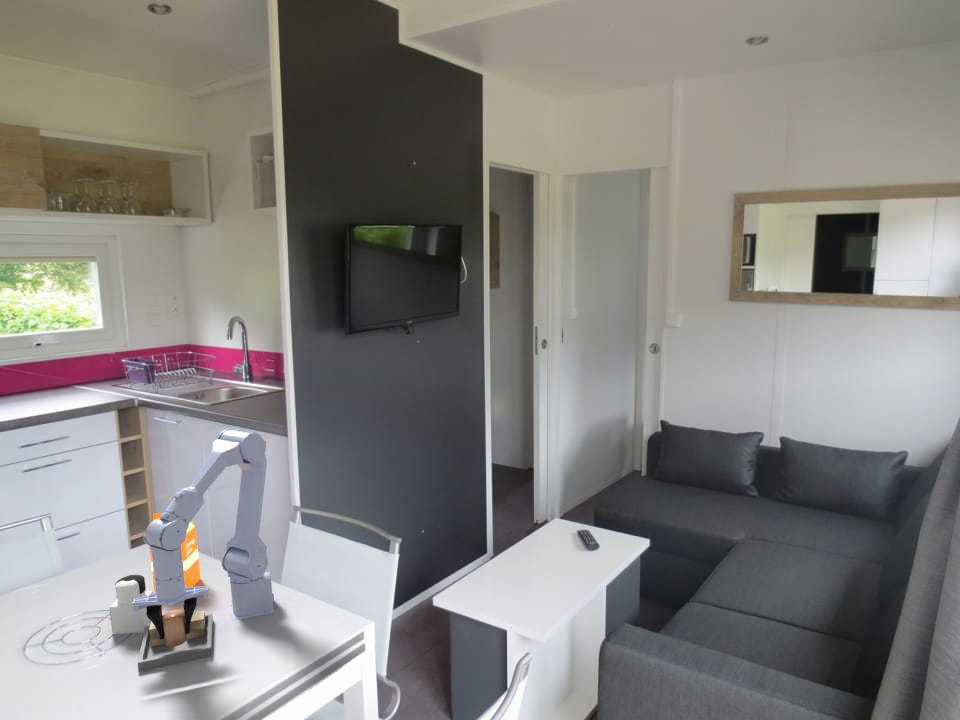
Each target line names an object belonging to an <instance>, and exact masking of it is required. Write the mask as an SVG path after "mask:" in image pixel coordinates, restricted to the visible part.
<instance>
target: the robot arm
mask: <svg viewBox="0 0 960 720" xmlns="http://www.w3.org/2000/svg"><path fill="white" fill-rule="evenodd" d="M266 448H267V441H266V439H264V438H263V437H262V435H260V434H259V433H257V432H248V431H240V430H234V429H232V428H227V429H223V430H221V432H220V433H219V434H218V436H217V437H216V439H214V441H213V442H212V446H211V452H210V454H209V456H208V457H207V458H206V459H205V462H204V463H203V465H202V466H201V468H200V470H199V471H198V473H197V474H196V476H195V477H194V478H193V480H192V482H191V483H190V485H189V486H187V487H183V488H181V489H179V491H177V492H176V493H174V495H173V497H174V498H173V499H172V500H171V502H169V504H168V506H167V507H166V508H165V510H164V511H163V512H161V513H162V514H161V516H160V518H159V519H156V520H155V521H153V520H152V521H153V522H152V521H151V522H150V523H149V524H148V525H147V526H146V529H145V532H144V533H145V534H143V536H142V538H143V541H144V543H145V544H146V545H147V546H148V548H149V547H150V548H149V553H150V552H151V553H152V562H153V571H154V580H155V589H156V593H155V592H154V593H153V594H150V595H147V596H144V597H141V598H136V599H134V601H133V610H134V612H135V611H139V610H140V609H143V608H147V613H146V614H147V617H148V618H149V619H150V620H151V621H152V623H153V624H154V626H155V627H156V629H157V631H158V633H159V636H160V639H164V632H163V622H162V616H163V608H162V606H164V607H172V606H175V605H176V604H177V603H180V602H183V611H184V614H185V621H186V634H190V623H191V619H192V616H193V613H194V612H195V611H196V608H197V602H198V601H197V600H198V599H203V600H204V599H209V594H210V593H209V585H205V586H194V587H185V579H184V569H183V559H182V549H181V544H182V543H183V542H184V541H185V539H186V535H187V529H188V528H189V527H188V526H189V523H190V522H191V521H192V520H193V519H194V518H195V516H196V514H198V512H199V511H200V510H201V508H202V506H203V505H204V503H205V500H204V494H205V493H206V492H207V491H208V490H209V489H210V487H211V486H212V485H213V484H214V482H215V481H216V480H217V479H218V478H219V477H220V475H221V474H222V473H223V471H224V470H225V469H227V468H228V467H232V466H236V465H237V466H238V467H239V468H240V470H241V476H240V482H239V493H238V494H239V495H238V501H237V503H238V504H237V513H236V520H235V532H234V535H233V537H232V538H230V539H229V540H228V541H227V542H226V548H225V550H224V553H223V555H222V556H221V567H222V569H223V570H224V572H226V573H227V577H228V578H229V581H230V592H231V593H230V594H231V603H232V604H231V605H230V606H231V607H230V612H231V613H230V614H231V618H230V620H231V621H237V620H242V619H243V620H244V619H248V618H252V617H257V616H263V615H268V614H272V613H274V612H275V610H274V602H275V595H274V593H273V587H272V577H271V576H272V575H271V571H267V569H268V564H269V559H268V555H267V545H266V544H265V542H264V541H263V540H262V538H261V537H260V529H261V522H262V510H263V503H264V502H263V501H264V492H265V485H266V484H265V483H266V475H267V474H266V472H267V465H268V462H267V457H266ZM192 522H193V521H192Z"/></svg>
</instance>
